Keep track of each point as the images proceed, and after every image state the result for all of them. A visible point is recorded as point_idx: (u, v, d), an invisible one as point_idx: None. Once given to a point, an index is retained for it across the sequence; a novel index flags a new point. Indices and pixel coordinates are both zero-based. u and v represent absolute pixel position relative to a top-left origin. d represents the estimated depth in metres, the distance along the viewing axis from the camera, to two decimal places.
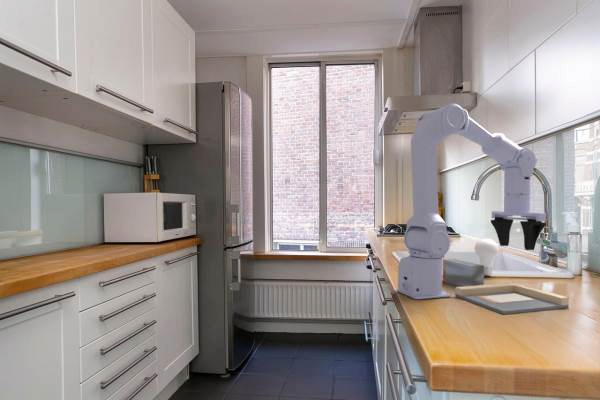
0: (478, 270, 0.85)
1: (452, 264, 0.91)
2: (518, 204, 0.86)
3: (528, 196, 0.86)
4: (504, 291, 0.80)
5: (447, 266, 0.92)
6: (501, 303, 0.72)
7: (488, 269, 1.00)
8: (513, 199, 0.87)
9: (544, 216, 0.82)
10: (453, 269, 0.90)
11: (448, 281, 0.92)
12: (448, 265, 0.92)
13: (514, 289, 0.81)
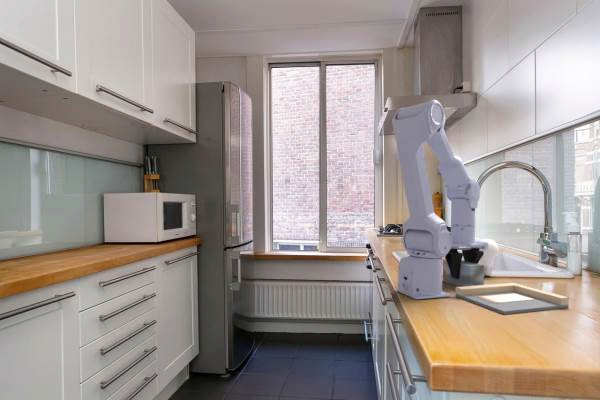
0: (478, 270, 0.85)
1: None
2: None
3: (456, 227, 0.88)
4: (504, 291, 0.80)
5: (447, 266, 0.92)
6: (501, 303, 0.72)
7: (488, 269, 1.00)
8: None
9: None
10: None
11: (448, 281, 0.92)
12: None
13: (514, 289, 0.81)
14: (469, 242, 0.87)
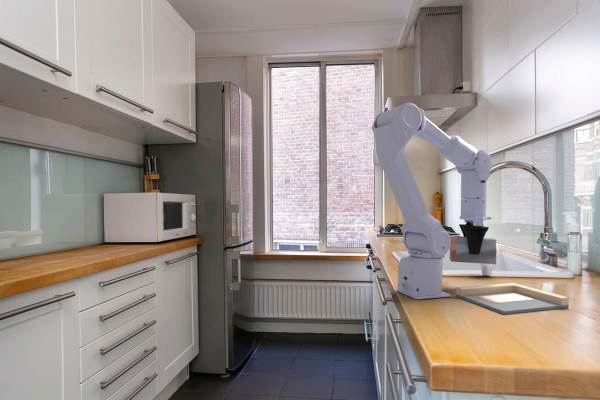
0: None
1: (466, 241, 0.85)
2: (466, 208, 0.85)
3: (478, 200, 0.84)
4: (504, 291, 0.80)
5: (459, 244, 0.86)
6: (501, 303, 0.72)
7: (488, 269, 1.00)
8: (463, 203, 0.86)
9: (480, 220, 0.79)
10: None
11: (461, 260, 0.85)
12: (460, 243, 0.85)
13: (514, 289, 0.81)
14: (485, 215, 0.85)
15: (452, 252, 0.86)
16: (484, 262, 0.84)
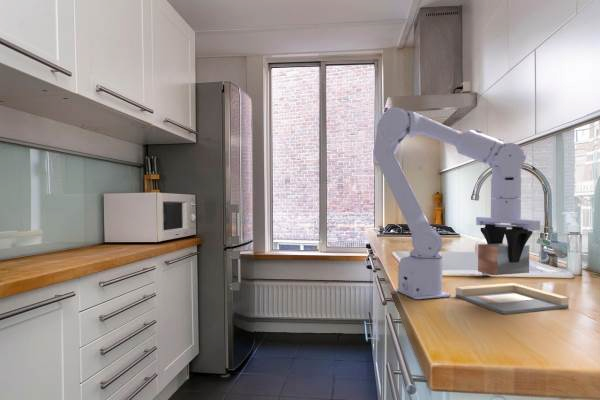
0: None
1: (506, 249, 0.73)
2: (507, 209, 0.73)
3: (519, 200, 0.73)
4: (504, 291, 0.80)
5: (499, 254, 0.73)
6: (501, 303, 0.72)
7: None
8: (501, 203, 0.74)
9: (538, 224, 0.69)
10: (507, 256, 0.73)
11: (501, 272, 0.73)
12: (501, 252, 0.73)
13: (514, 289, 0.81)
14: None
15: (494, 264, 0.72)
16: (520, 272, 0.74)
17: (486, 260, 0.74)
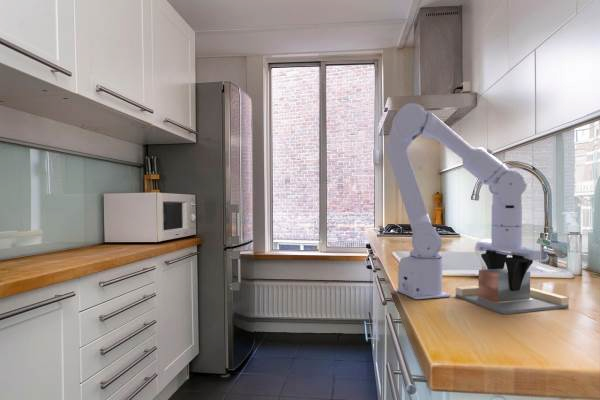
0: None
1: (506, 276, 0.73)
2: (508, 238, 0.73)
3: (519, 228, 0.73)
4: None
5: (500, 281, 0.73)
6: (501, 303, 0.72)
7: None
8: (502, 231, 0.73)
9: (539, 254, 0.69)
10: (508, 283, 0.73)
11: (501, 299, 0.73)
12: (501, 279, 0.73)
13: None
14: None
15: (494, 291, 0.72)
16: (521, 298, 0.74)
17: (487, 286, 0.74)
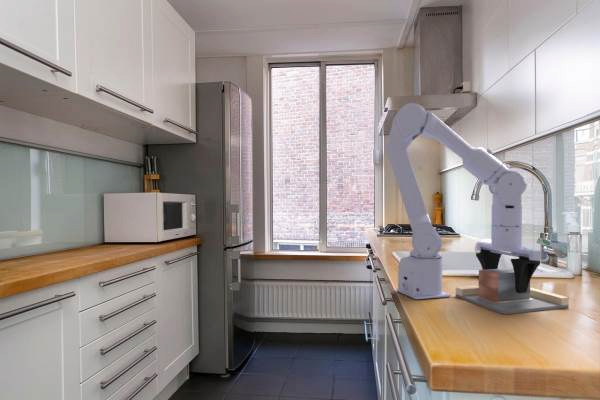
0: None
1: (506, 276, 0.73)
2: (508, 238, 0.73)
3: (519, 228, 0.73)
4: None
5: (500, 281, 0.73)
6: (501, 303, 0.72)
7: None
8: (502, 232, 0.73)
9: (539, 254, 0.69)
10: (508, 283, 0.73)
11: (501, 299, 0.73)
12: (501, 279, 0.73)
13: None
14: None
15: (494, 291, 0.72)
16: (521, 298, 0.74)
17: (487, 286, 0.74)
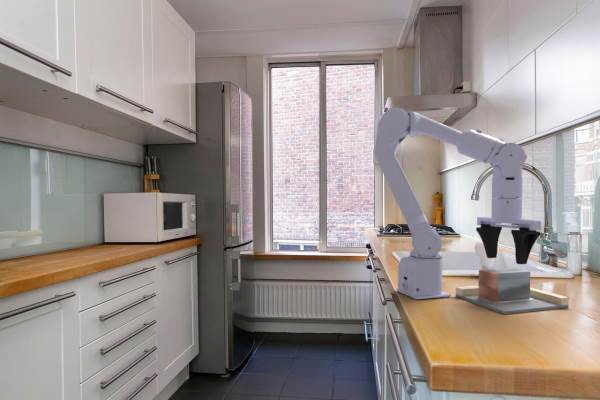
0: None
1: (506, 276, 0.73)
2: (508, 209, 0.73)
3: (520, 200, 0.73)
4: None
5: (500, 281, 0.73)
6: (501, 303, 0.72)
7: None
8: (502, 204, 0.73)
9: (539, 224, 0.69)
10: (508, 283, 0.73)
11: (501, 299, 0.73)
12: (501, 279, 0.73)
13: None
14: None
15: (494, 291, 0.72)
16: (521, 298, 0.74)
17: (487, 286, 0.74)
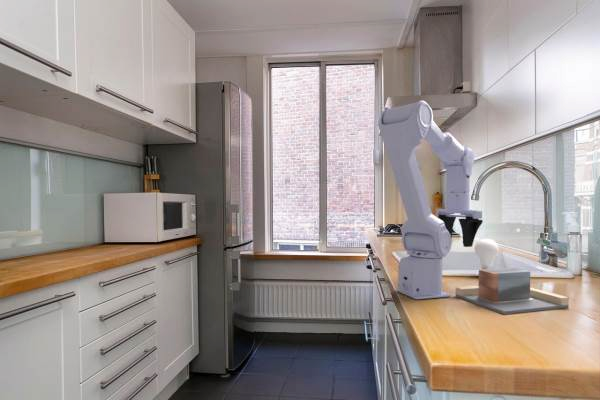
0: None
1: (506, 276, 0.73)
2: (457, 202, 0.88)
3: (467, 194, 0.88)
4: None
5: (500, 281, 0.73)
6: (501, 303, 0.72)
7: None
8: (453, 197, 0.88)
9: (480, 213, 0.84)
10: (508, 283, 0.73)
11: (501, 299, 0.73)
12: (501, 279, 0.73)
13: None
14: None
15: (494, 291, 0.72)
16: (521, 298, 0.74)
17: (487, 286, 0.74)
